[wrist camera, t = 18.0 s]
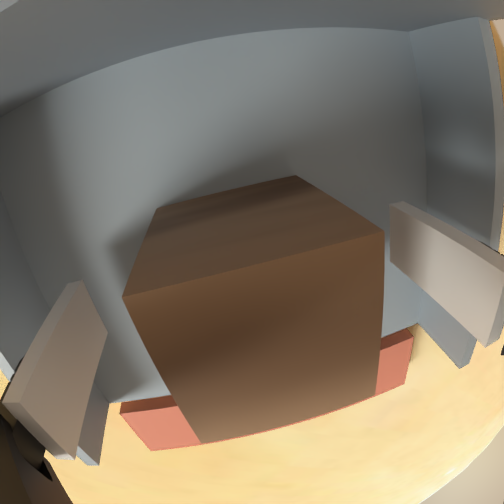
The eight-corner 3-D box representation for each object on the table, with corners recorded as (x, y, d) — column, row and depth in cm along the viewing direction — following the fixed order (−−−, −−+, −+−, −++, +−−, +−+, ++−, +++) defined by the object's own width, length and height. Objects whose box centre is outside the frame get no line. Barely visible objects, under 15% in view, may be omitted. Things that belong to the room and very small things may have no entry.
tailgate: (121, 399, 18) (151, 437, 20) (119, 413, 17) (151, 451, 19) (404, 325, 19) (396, 372, 22) (413, 336, 18) (404, 383, 20)
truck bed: (102, 391, 18) (81, 512, 9) (-15, 117, 10) (-152, 146, 2) (417, 309, 19) (499, 398, 11) (403, 23, 12) (543, -5, 3)
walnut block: (156, 208, 13) (121, 297, 6) (296, 175, 13) (384, 231, 7) (194, 323, 15) (201, 443, 9) (312, 293, 16) (374, 394, 9)
